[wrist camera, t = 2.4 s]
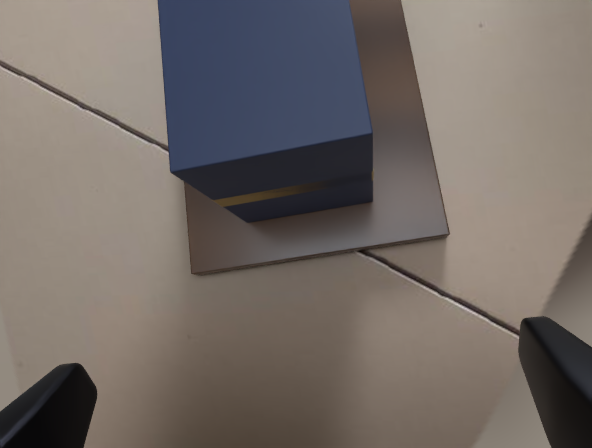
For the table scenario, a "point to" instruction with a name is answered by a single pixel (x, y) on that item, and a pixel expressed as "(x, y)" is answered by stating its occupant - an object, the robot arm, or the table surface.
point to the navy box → (267, 104)
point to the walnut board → (386, 163)
